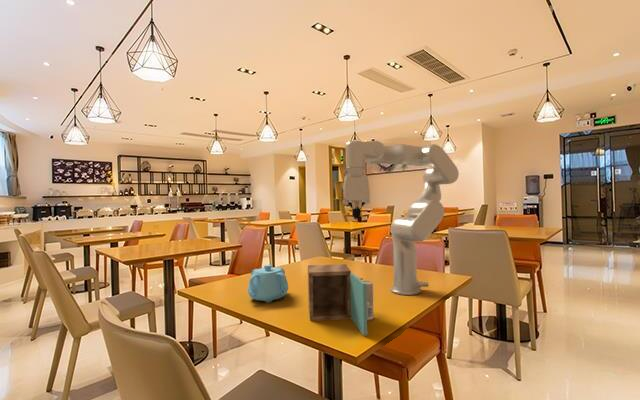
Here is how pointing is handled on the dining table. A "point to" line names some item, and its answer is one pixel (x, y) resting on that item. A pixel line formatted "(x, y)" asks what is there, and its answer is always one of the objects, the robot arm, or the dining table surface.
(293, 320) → the dining table surface
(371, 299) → the energy drink
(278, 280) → the decorative pot
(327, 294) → the cabinet
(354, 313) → the door
